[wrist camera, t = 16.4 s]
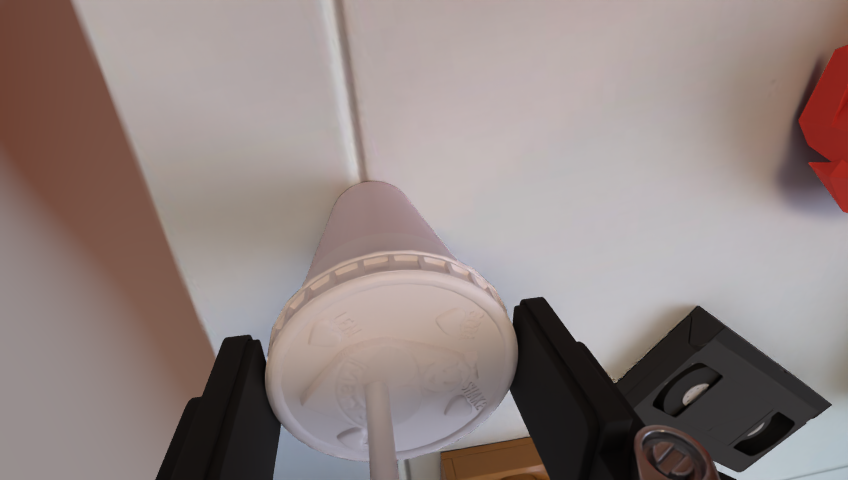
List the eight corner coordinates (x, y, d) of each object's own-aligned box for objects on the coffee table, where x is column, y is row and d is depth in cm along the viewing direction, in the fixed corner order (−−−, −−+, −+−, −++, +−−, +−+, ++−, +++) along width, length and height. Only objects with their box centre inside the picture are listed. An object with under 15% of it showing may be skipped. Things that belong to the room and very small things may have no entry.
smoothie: (282, 162, 17) (125, 522, 5) (437, 139, 18) (653, 403, 5) (317, 291, 20) (276, 715, 8) (447, 268, 21) (602, 623, 8)
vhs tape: (605, 393, 27) (623, 418, 25) (698, 305, 25) (725, 326, 23) (719, 450, 33) (740, 474, 31) (804, 382, 30) (832, 404, 29)
